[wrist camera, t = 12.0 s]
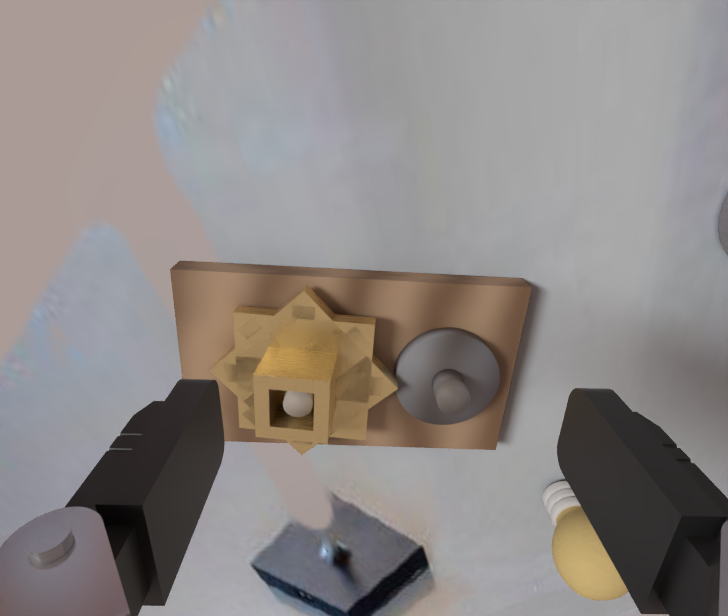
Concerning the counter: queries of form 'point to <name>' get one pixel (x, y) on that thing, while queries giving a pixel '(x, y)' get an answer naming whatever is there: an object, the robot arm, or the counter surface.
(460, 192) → the counter surface
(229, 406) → the wooden peg board
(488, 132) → the counter surface
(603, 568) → the light bulb
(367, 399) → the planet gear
